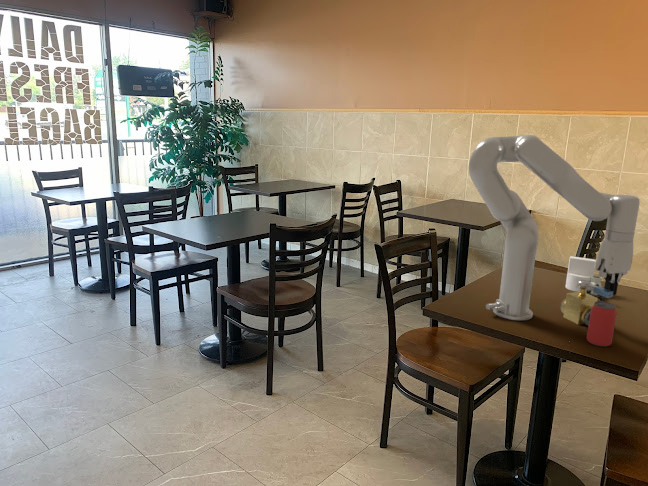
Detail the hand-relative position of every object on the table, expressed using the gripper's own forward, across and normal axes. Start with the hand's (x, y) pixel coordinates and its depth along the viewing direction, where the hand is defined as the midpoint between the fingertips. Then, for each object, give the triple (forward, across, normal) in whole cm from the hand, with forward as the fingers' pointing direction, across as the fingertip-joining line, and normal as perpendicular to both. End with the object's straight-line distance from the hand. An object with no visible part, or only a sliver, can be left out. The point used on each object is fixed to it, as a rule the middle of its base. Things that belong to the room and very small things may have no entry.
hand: (609, 293), depth 158 cm
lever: (0, +3, -3) cm, 4 cm away
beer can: (+12, +11, +7) cm, 18 cm away
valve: (+12, -21, -23) cm, 33 cm away
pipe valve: (+11, +3, -8) cm, 14 cm away
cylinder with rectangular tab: (+12, -23, -32) cm, 41 cm away
